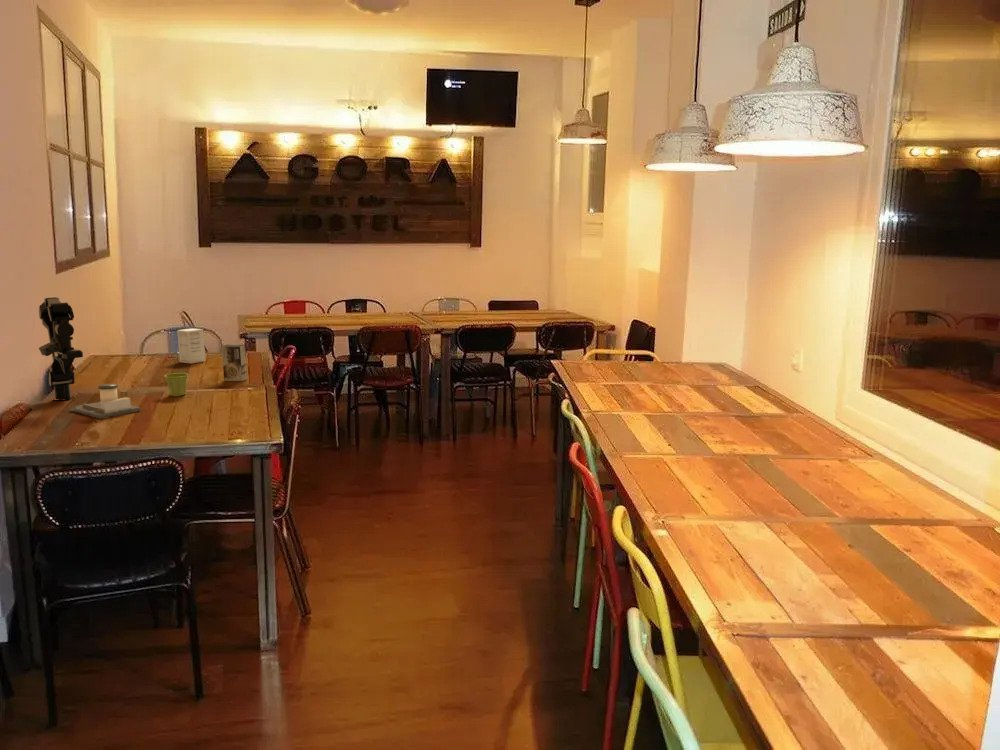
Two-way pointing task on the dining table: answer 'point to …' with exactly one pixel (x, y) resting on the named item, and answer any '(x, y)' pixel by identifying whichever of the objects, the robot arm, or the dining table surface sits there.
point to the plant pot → (177, 383)
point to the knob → (108, 392)
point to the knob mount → (107, 408)
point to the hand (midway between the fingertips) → (66, 373)
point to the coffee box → (234, 362)
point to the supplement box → (191, 345)
